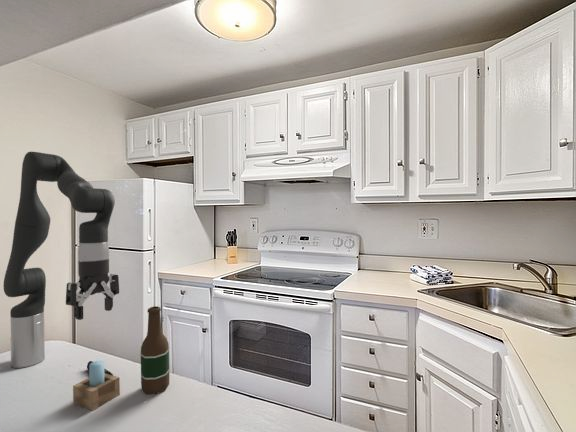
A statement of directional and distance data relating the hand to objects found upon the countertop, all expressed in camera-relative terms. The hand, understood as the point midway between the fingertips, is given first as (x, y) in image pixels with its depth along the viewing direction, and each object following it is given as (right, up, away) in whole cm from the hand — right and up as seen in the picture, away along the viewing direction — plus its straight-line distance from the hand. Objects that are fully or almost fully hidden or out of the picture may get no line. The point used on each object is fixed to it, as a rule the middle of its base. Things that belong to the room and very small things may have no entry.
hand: (94, 314), depth 91 cm
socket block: (+2, -23, -2) cm, 23 cm away
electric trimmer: (-6, -24, +11) cm, 27 cm away
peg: (+2, -23, -2) cm, 23 cm away
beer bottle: (+16, -23, +4) cm, 28 cm away
